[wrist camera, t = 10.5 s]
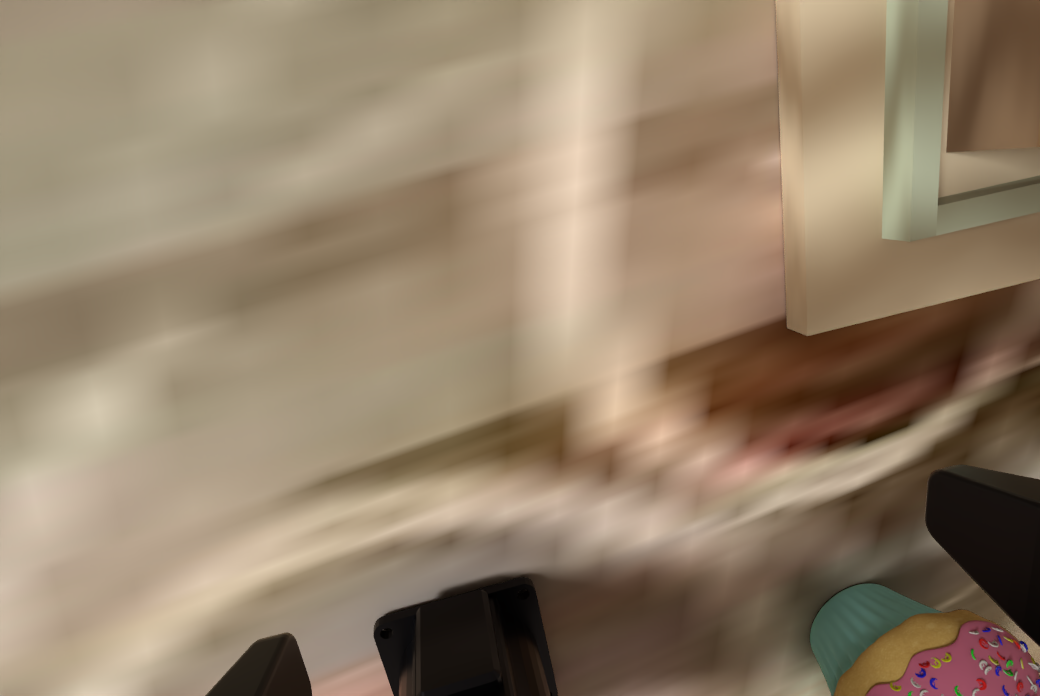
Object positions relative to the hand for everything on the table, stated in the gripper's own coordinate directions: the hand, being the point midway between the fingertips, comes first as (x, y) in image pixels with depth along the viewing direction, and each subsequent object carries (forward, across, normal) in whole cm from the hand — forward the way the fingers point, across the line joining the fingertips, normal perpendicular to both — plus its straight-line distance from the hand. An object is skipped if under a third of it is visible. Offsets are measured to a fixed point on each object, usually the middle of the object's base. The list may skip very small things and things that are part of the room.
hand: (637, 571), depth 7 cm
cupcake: (+13, -15, +18) cm, 27 cm away
